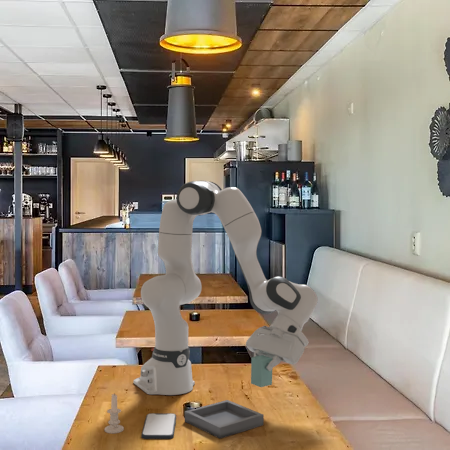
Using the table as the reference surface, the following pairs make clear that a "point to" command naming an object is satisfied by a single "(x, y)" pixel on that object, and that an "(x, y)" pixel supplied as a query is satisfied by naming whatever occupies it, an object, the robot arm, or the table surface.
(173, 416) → the smartphone
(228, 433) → the charcoal tray
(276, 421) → the table surface
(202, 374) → the table surface
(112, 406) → the candle
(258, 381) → the sage block
